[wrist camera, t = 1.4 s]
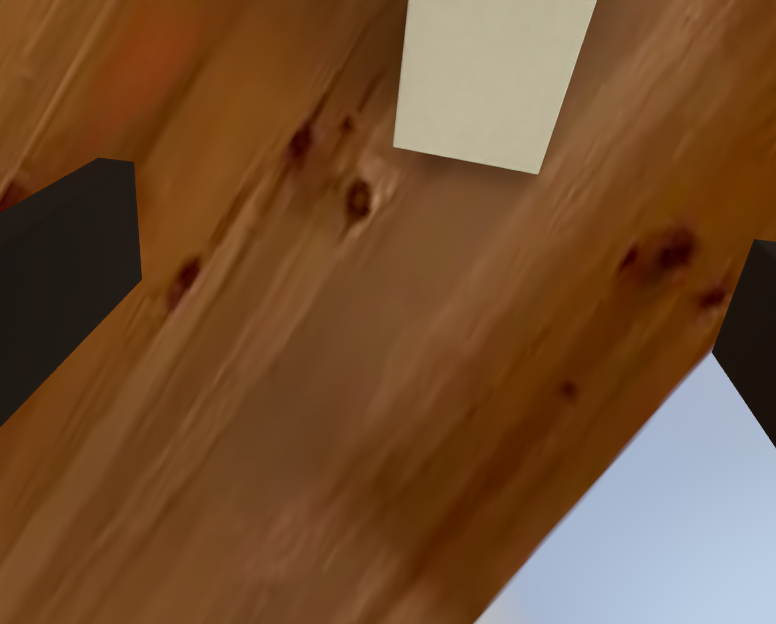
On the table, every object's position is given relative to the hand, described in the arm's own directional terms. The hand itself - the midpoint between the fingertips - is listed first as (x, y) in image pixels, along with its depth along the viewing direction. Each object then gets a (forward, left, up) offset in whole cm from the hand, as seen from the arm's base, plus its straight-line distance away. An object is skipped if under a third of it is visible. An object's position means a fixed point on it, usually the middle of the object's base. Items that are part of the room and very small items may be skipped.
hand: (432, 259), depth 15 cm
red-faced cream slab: (-7, +7, -20) cm, 22 cm away
